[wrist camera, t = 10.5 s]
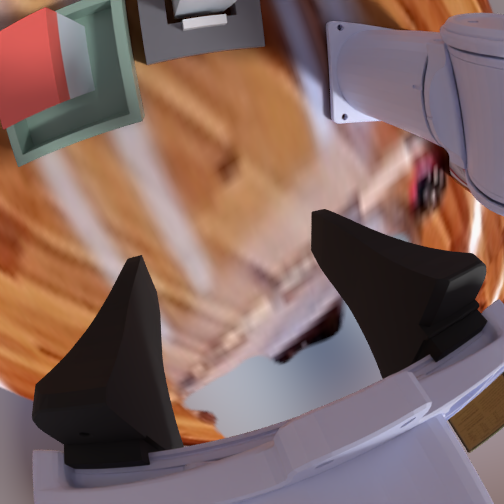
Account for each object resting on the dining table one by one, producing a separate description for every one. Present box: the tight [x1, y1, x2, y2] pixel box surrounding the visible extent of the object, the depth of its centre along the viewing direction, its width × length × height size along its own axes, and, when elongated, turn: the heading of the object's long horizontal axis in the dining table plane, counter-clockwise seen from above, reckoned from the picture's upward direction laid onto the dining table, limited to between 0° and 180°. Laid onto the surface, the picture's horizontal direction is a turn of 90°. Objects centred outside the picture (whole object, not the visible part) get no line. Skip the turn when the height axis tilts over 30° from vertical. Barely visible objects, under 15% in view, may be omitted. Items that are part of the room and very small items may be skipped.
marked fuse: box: [0, 7, 95, 130], centre depth 10 cm, size 3×4×7 cm, turn 6°
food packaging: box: [448, 372, 504, 453], centre depth 36 cm, size 13×9×25 cm
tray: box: [6, 0, 145, 167], centre depth 12 cm, size 8×8×2 cm
